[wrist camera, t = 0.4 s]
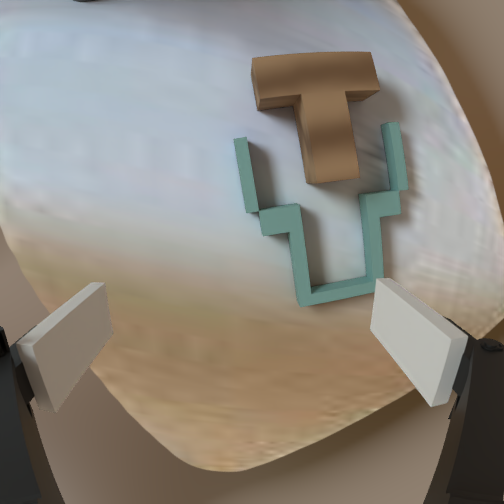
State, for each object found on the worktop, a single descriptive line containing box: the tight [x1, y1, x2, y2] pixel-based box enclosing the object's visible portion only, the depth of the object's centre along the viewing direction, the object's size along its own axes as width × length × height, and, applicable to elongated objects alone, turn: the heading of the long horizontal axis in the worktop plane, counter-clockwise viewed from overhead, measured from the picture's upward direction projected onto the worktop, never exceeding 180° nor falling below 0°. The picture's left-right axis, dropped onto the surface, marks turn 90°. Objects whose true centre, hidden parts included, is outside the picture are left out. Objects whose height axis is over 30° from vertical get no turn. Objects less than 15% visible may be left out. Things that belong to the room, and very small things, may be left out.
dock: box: [234, 122, 408, 307], centre depth 39 cm, size 22×21×2 cm
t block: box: [251, 52, 380, 183], centre depth 35 cm, size 15×14×6 cm
